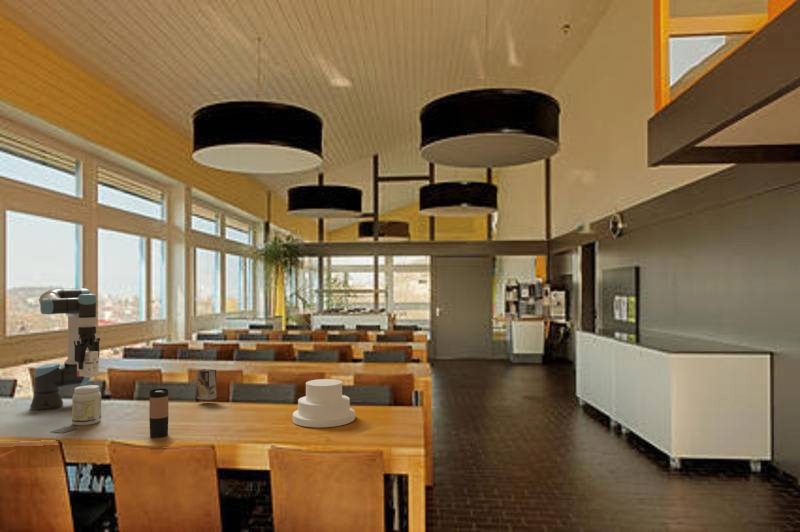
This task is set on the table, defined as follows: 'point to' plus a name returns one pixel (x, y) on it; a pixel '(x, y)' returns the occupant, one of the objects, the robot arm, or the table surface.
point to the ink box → (90, 364)
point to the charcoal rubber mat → (64, 430)
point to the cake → (323, 405)
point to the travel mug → (158, 413)
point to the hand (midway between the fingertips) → (87, 374)
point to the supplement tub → (86, 405)
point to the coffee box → (206, 384)
